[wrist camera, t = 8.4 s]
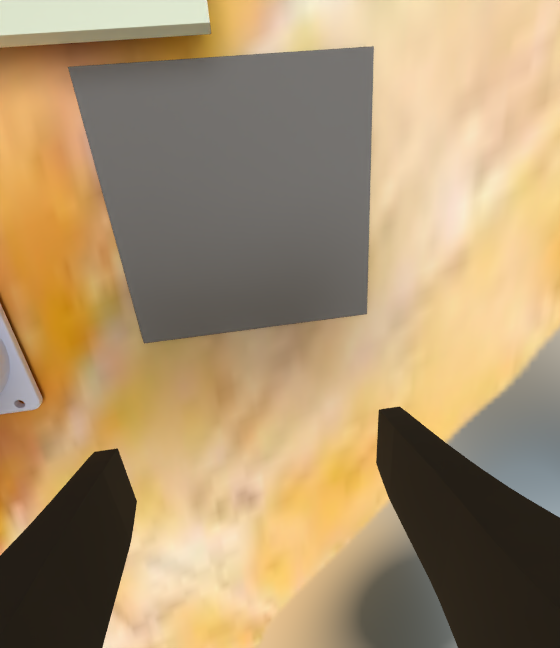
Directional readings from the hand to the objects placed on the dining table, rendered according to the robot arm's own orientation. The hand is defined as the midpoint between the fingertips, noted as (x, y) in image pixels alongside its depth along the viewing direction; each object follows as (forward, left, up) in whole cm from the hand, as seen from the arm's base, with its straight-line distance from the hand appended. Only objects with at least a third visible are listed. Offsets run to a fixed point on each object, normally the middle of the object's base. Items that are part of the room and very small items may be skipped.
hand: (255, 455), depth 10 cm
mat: (+1, +5, -10) cm, 12 cm away
